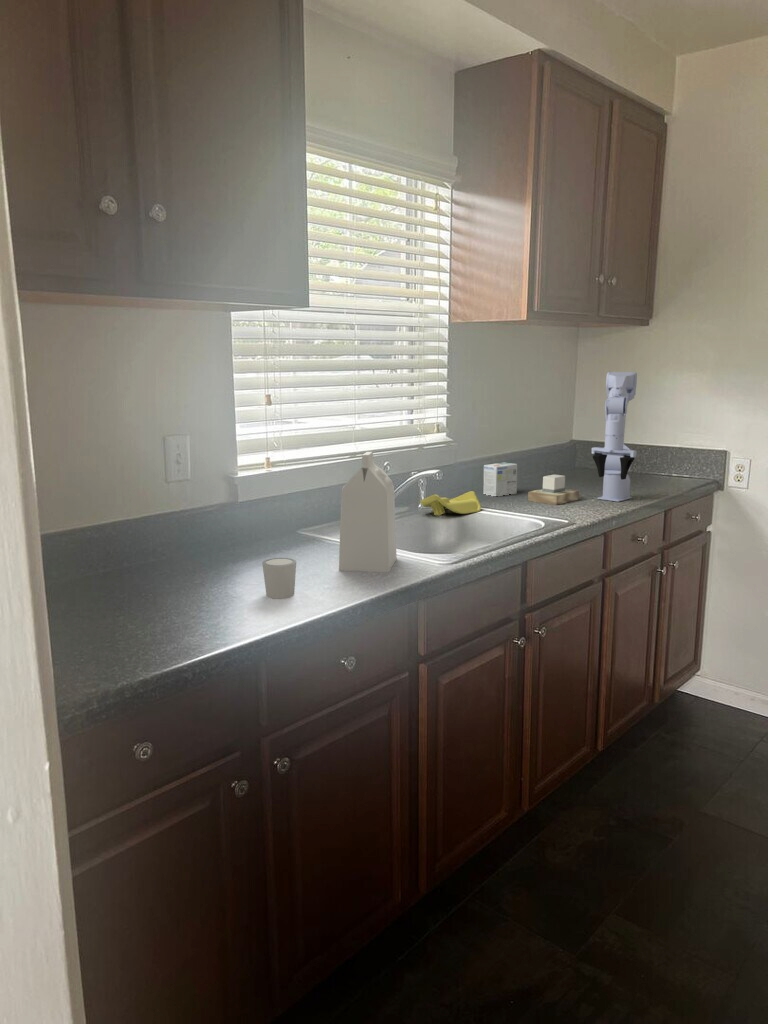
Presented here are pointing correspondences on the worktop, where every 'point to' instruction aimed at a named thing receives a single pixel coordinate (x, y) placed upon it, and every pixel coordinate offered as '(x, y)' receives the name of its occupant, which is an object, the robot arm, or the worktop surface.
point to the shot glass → (279, 577)
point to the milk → (368, 520)
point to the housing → (553, 483)
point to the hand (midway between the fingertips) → (612, 477)
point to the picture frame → (553, 496)
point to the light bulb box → (500, 479)
